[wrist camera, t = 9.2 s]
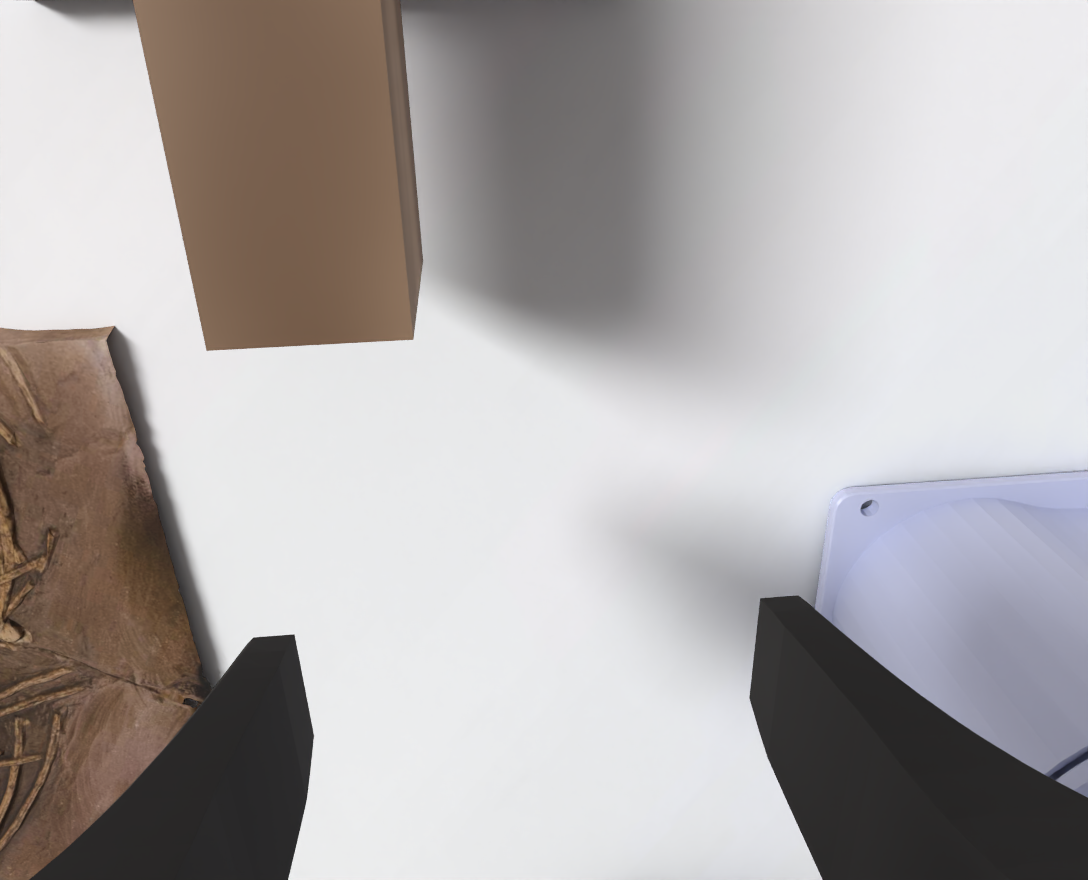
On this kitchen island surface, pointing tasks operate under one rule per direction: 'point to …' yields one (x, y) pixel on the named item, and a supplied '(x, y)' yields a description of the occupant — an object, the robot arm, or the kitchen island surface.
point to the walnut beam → (289, 166)
